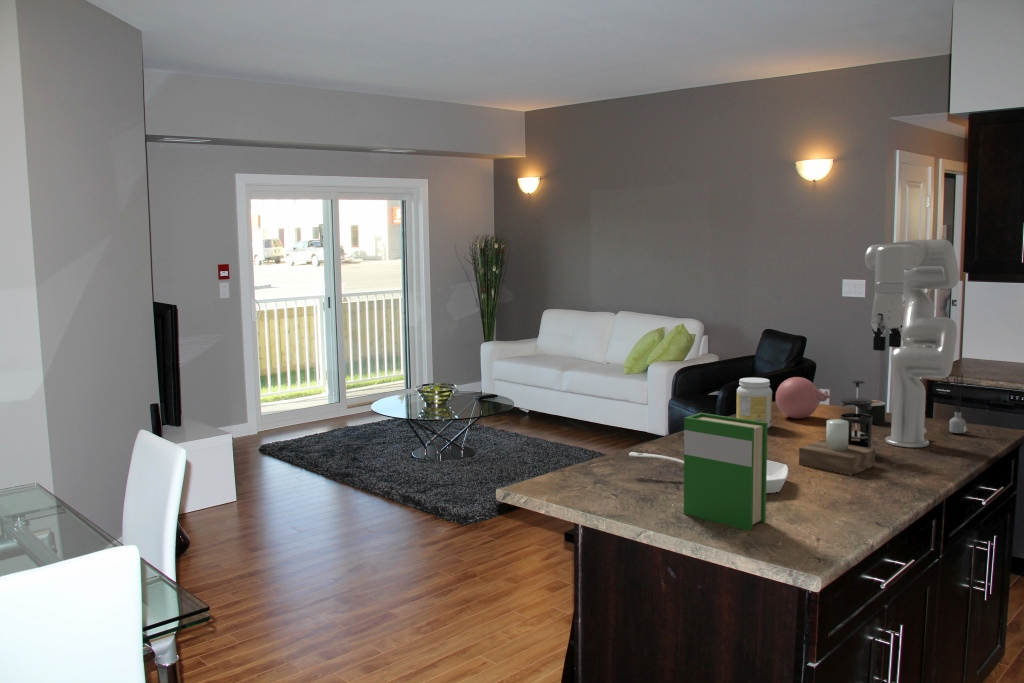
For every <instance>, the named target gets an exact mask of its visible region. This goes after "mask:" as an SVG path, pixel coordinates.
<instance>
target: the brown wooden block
mask: <svg viewBox="0 0 1024 683" xmlns="http://www.w3.org/2000/svg"><path fill="white" fill-rule="evenodd" d="M799 464H801V465H800V466H803V465H806V466H805V467H808V466H811V467H810V468H813V467H815V468H814V469H818V468H820V469H819V470H823V469H825V470H824V471H827V470H830V471H829V472H832V471H836V472H835V473H837V472H841V473H840V474H842V473H845V474H844V475H846V474H850V475H849V476H853V475H852V474H854V475H856V474H859V473H861V472H863V471H862V470H864V471H865V469H866V470H868V469H871V468H873V467H875V464H876V449H875V448H872V447H871V448H866V447H860V446H855V445H849V444H848V450H846V451H833V450H829V449H827V448H826V439H822V440H819V441H816V442H813V443H809V444H807V445H803V446H801V447H799V448H798V465H799ZM872 466H873V467H872ZM870 467H871V468H870ZM867 468H868V469H867ZM860 471H861V472H860ZM858 472H859V473H858ZM855 473H856V474H855Z"/></svg>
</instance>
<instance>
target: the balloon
mask: <svg viewBox="0 0 1024 683" xmlns="http://www.w3.org/2000/svg"><path fill="white" fill-rule="evenodd" d="M831 398H832V395H831V394H829V392H828V390H823V391H822V390H820V389H819V388H817V386H816V385H815V384H814V383H813V381H811V380H809V379H807V378H805V377H800V376H793V377H789V378H787V379H785V380H784V381H782V382H781V383H780V384H779V386H778V387H777V390H776V391H775V403H776V406H777V408H778V409H779V411H780V412H781V413H782V414H784V415H785V416H787V417H789V418H791V419H796V420H798V419H801V420H802V419H805V418H808V417H810V416H811V415H812V414H814V413H815V412H816V410H817V409H818V407H819V404H820V403H821V402H826V401H827V400H828V399H831Z"/></svg>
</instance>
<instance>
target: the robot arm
mask: <svg viewBox="0 0 1024 683" xmlns="http://www.w3.org/2000/svg"><path fill="white" fill-rule="evenodd" d="M864 254H865V255H864V262H865V265H866V267H867V269H868V270H871V271H875V275H874V276H875V277H874V299H873V303H872V310H871V328H872V332H873V333H872V335H873V342H872V343H873V346H872V348H873V351H880V352H881V351H882V352H884V351H886V342H887V341H886V339H887V338H886V336H885V335H886V333H887V330H889V331H890V333H889V334H888V335H889V336H888V347H890V348H894V349H893V350H892V351H891V354H890V365H891V366H890V367H891V373H892V398H891V400H892V402H891V424H890V425H891V426H890V427H891V429H890V430H891V431H890V435H888V436H886V437H885V443H887V444H889V445H892V446H896V447H902V448H924V447H925V448H926V447H928V446H929V444H930V441H929V440H928V439H927V438H925V434H926V433H927V429H926V427H925V419H926V418H925V416H926V415H925V413H926V397H927V396H926V394H927V392H926V387H925V386H924V384H923V383H922V381H921V379H919V377H923V378H934V379H935V378H936V379H943V378H946V377H947V378H948V377H949V376H950V374H951V373H952V369H953V364H954V358H955V352H956V351H955V350H956V345H957V338H958V336H957V335H958V328H957V324H956V322H955V320H954V319H952V318H950V317H945V316H944V317H943V316H934V314H935V313H934V312H935V309H936V308H935V307H936V306H935V302H934V301H933V300H932V299H931V297H930V296H929V295H928V294H927V293H926V292H924V290H950V289H954V288H955V287H956V286H957V285H958V283H959V279H960V272H959V264H958V261H957V256H956V252H955V249H954V246H953V244H952V242H951V241H950V240H948V239H945V238H944V239H942V238H941V239H911V240H906V241H905V240H904V241H897V242H890V243H879V244H878V243H877V244H872V245H870V246H869V247H868V248H867V249H866V251H865V253H864ZM903 298H904V304H905V308H903ZM903 309H904V314H903ZM902 342H903V343H904V344H906V345H901V344H902Z"/></svg>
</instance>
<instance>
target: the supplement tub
mask: <svg viewBox="0 0 1024 683" xmlns="http://www.w3.org/2000/svg"><path fill="white" fill-rule="evenodd" d="M738 381H739V383H738V385H739V386H738V388H736V413H735V414H736V415H735V416H736V417H735V418H740V419H746V420H753V421H760V422H767V423H768V425H767V429H769V428H770V427H771V426H772V422H773V421H772V417H773V414H772V413H773V412H772V411H773V409H772V408H773V390H772V388H771V387H770V386H771V383H770V382H771V381H770V379H768V378H764V377H743V378H740V379H739V380H738Z"/></svg>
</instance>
